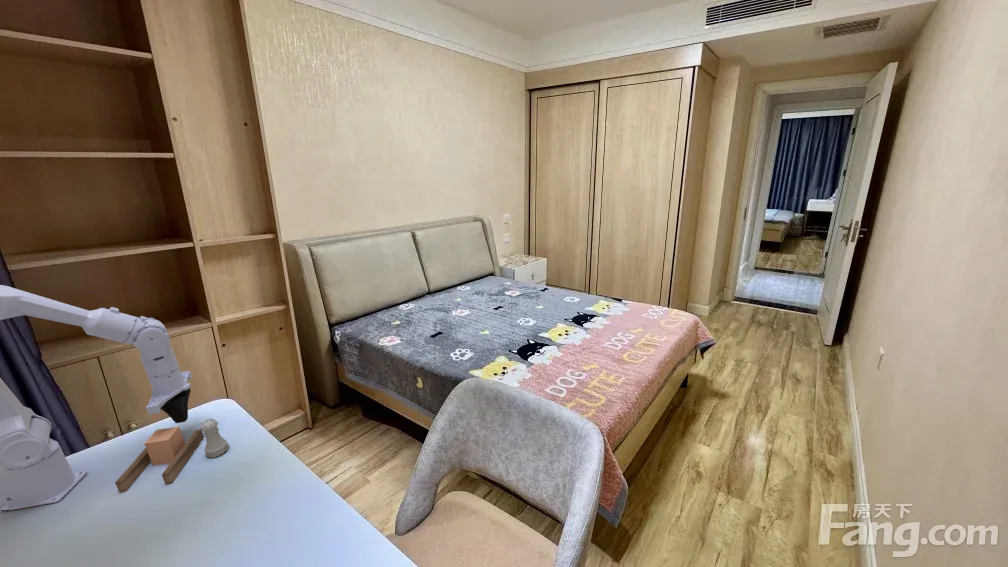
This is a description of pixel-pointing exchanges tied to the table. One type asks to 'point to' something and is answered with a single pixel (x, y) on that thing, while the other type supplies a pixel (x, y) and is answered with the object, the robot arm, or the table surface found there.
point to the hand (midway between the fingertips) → (181, 420)
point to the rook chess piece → (213, 439)
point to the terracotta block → (164, 445)
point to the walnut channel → (170, 471)
